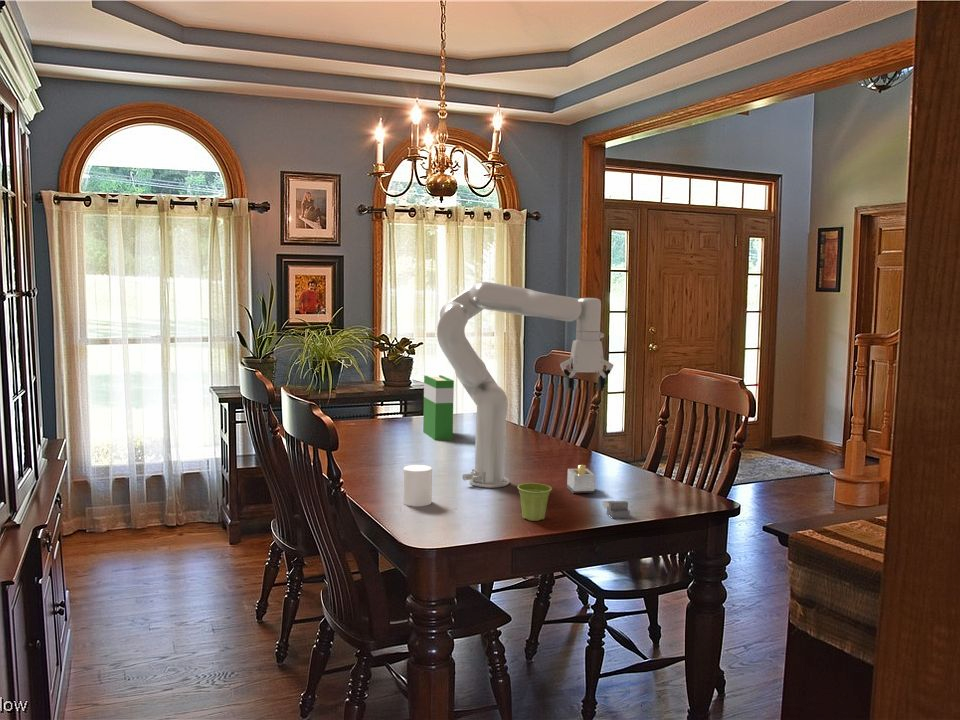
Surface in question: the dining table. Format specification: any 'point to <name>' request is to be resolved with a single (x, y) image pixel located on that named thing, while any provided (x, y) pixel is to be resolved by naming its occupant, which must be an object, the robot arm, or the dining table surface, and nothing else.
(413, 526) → the dining table surface
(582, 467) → the yellow peg stand
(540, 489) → the plant pot
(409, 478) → the white cylinder
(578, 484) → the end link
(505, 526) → the dining table surface
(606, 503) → the slack link
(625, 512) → the grey boxy piece
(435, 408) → the hardback book
